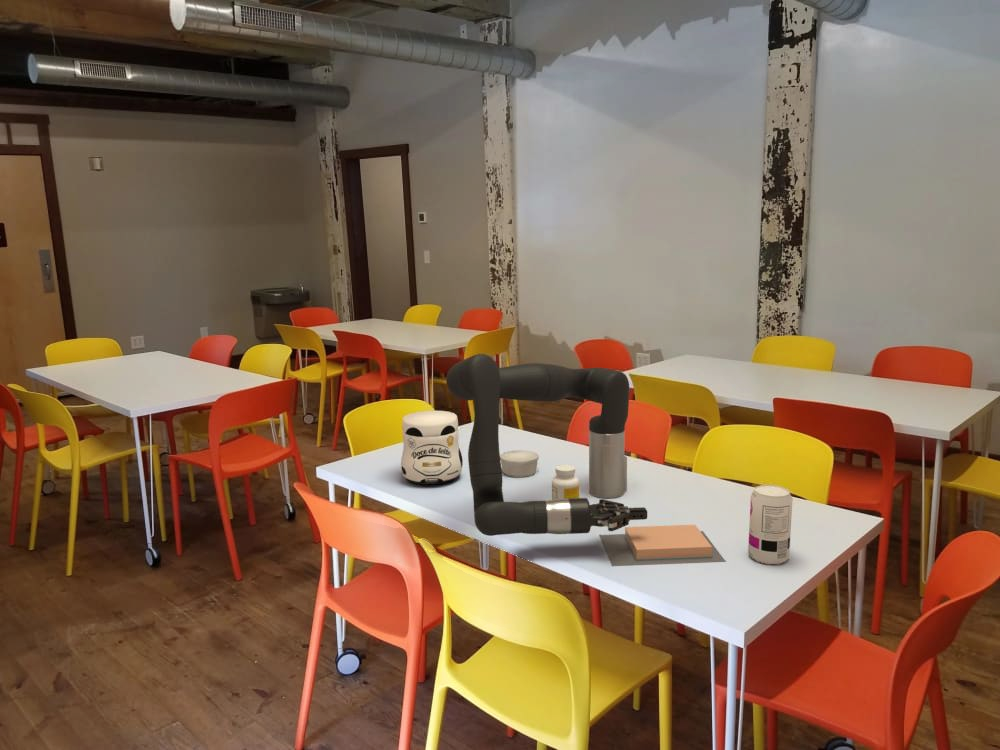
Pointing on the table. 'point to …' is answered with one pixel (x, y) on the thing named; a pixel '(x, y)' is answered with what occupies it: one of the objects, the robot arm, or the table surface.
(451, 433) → the milk container
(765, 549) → the supplement can
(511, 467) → the ramekin
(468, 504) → the table surface
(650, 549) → the tile
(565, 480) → the supplement bottle
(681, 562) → the mat
